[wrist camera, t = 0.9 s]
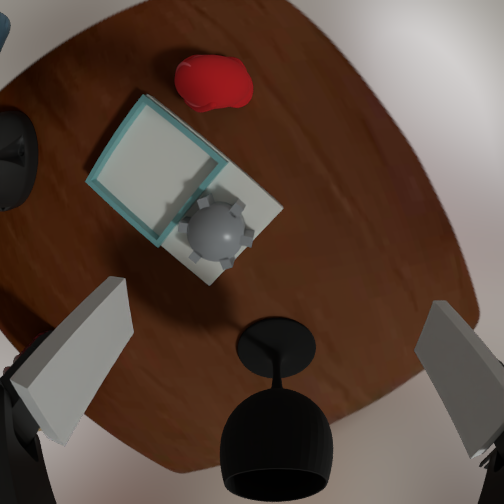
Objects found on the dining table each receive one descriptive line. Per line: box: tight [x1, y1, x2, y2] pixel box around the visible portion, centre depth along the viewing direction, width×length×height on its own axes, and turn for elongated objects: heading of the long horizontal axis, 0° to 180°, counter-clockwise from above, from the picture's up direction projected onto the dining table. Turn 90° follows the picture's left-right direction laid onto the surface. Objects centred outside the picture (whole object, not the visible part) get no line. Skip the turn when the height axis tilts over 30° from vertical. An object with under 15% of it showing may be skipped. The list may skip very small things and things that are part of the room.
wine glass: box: [220, 318, 333, 502], centre depth 27 cm, size 10×10×20 cm
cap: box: [174, 55, 253, 112], centre depth 24 cm, size 8×6×6 cm
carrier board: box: [85, 94, 283, 286], centre depth 28 cm, size 19×12×4 cm, turn 48°
